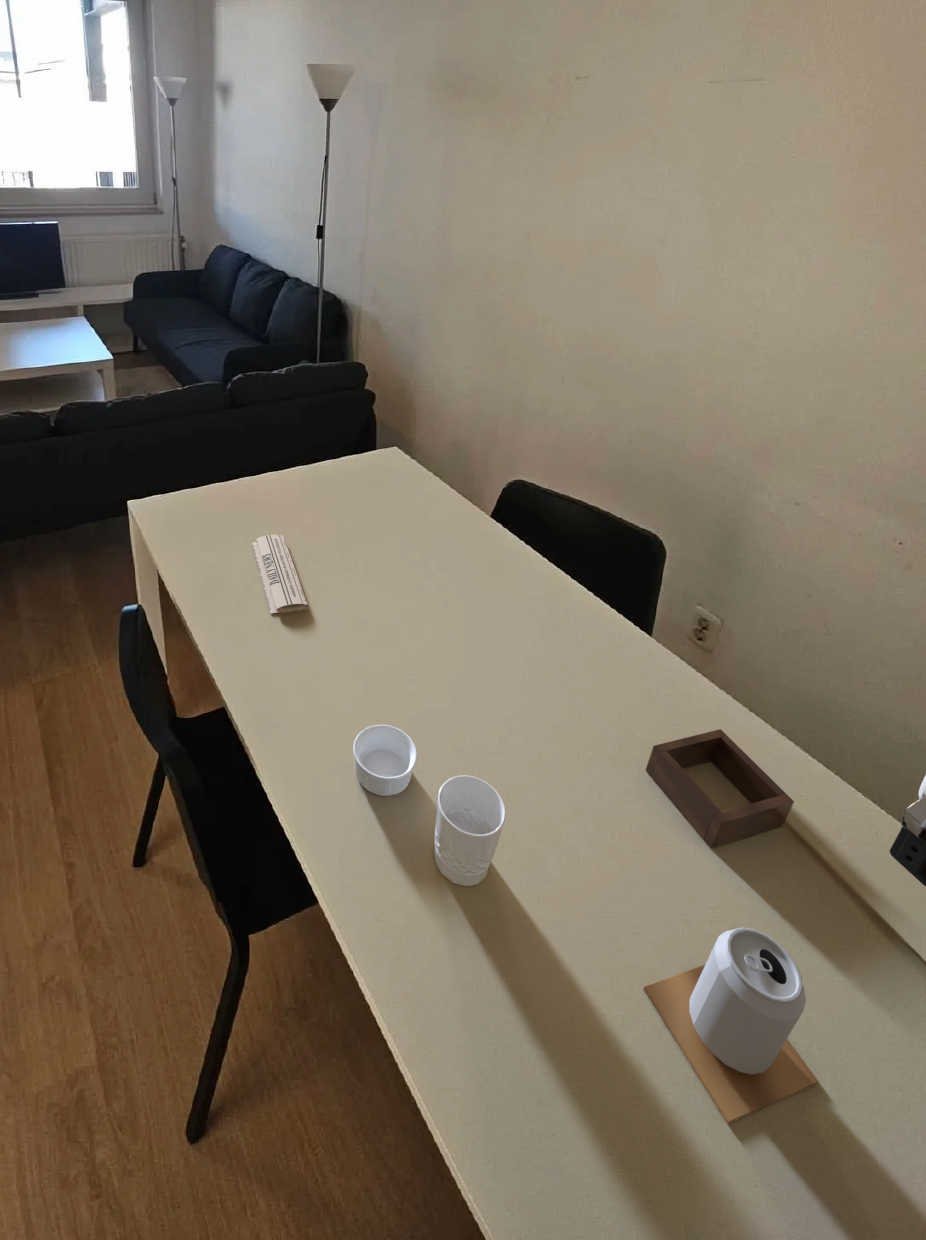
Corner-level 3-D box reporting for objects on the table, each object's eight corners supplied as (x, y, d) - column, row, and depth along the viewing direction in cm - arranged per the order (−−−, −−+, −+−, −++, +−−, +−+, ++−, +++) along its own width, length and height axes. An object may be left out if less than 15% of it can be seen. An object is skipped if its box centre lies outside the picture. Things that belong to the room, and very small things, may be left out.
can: (788, 1081, 64) (831, 1011, 60) (710, 1078, 64) (748, 1008, 60) (743, 989, 71) (779, 920, 66) (673, 986, 71) (704, 917, 66)
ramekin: (406, 810, 89) (409, 787, 87) (343, 787, 92) (345, 765, 90) (420, 757, 97) (423, 735, 95) (361, 738, 99) (363, 716, 98)
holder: (711, 753, 99) (720, 728, 97) (782, 827, 89) (794, 801, 87) (645, 770, 96) (653, 745, 94) (710, 849, 86) (721, 823, 84)
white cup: (425, 827, 87) (434, 773, 83) (486, 830, 87) (497, 776, 83) (433, 890, 80) (443, 834, 76) (499, 894, 80) (512, 838, 76)
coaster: (724, 959, 74) (725, 956, 74) (817, 1083, 65) (818, 1081, 64) (643, 988, 71) (643, 986, 71) (727, 1124, 62) (728, 1122, 62)
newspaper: (307, 609, 126) (308, 602, 125) (270, 614, 124) (270, 606, 123) (283, 540, 147) (283, 533, 146) (251, 543, 145) (251, 536, 144)
